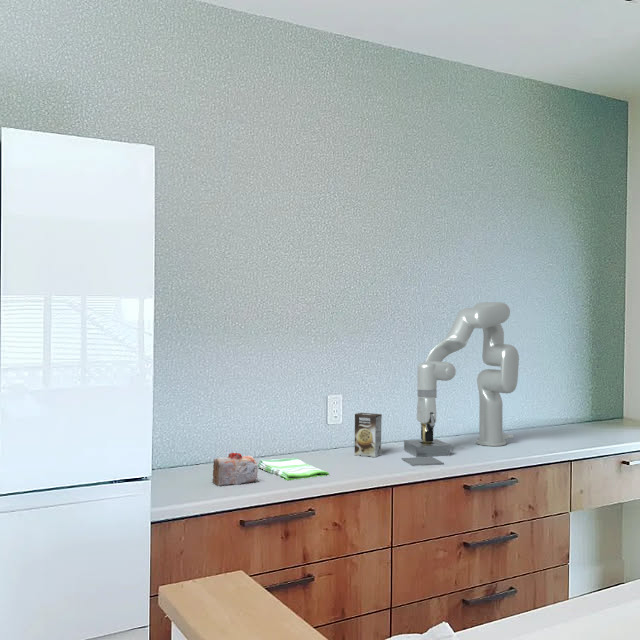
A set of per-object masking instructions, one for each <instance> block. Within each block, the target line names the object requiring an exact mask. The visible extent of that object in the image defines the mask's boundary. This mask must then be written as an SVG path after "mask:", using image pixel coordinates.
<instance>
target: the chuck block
mask: <svg viewBox="0 0 640 640" xmlns="http://www.w3.org/2000/svg"><path fill="white" fill-rule="evenodd" d="M404 450H405V451H404ZM403 451H404V452H406V451H407V452H406V453H408V452H409V453H408V454H410V453H411V454H410V455H412V454H413V455H412V456H413V457H415V456H416V457H422V456H429V457H445V456H446V457H447V456H448V455H450V456H451V444H448V443H447V442H444V441H442V440H440V439H437V438H433V441H432V444H423V440H422V439H408V440H406V439H405V440H403Z"/></svg>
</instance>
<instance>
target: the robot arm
mask: <svg viewBox="0 0 640 640" xmlns="http://www.w3.org/2000/svg"><path fill="white" fill-rule="evenodd" d="M510 316H511V309H510V307H509V306H508V304H507V303H505V302H501V301H500V302H499V301H497V302H496V301H493V302H488V301H487V302H485V301H484V302H479V303H476V304H474V306H473V307H465V308H462V309H460V310H459V312H458V313H457V315H456V317H455V319H454V321H453V323H452V324H451V327H450V329H449V331H448V333H447V335H446V336H445V338H444V339H442V340H440V341H439V342H438V343H437V344H436V345H435V346H434V347H432V349H431V350H430V352H428V355H427V357H426V358H425V361H424V362H420V363H418V365H417V370H416V371H417V374H416V375H417V376H416V377H417V393H416V395H417V401H416V402H417V404H416V420H417V422H419V423H420V440H423V425H421V423H423V424H426V431H425V441H426V442H429V441H433V439H434V430H435V429H434V428H435V426H436V423H437V405H436V404H437V403H436V399H437V395H438V394H437V392H438V391H437V390H438V388H437V386H438V385H437V381H444V382H447V381H451V380H452V379H453V378H455V376H456V372H457V371H456V367H455V365H454V364H452V363H450V362H448V361H443V360H445V358H447V357H448V356H449V355H451V354H453V353H455V352H458V351H460V350H462V349H464V348H465V347H466V346H467V344H468V342H469V339H470V337H472V333H473V332H474V330H475V329H482V333H483V337H482V339H483V340H482V355H481V356H482V362H483V364H485V365H486V366H491V367H500V369H494V368H487V369H486V368H485V369H483V370H481V371H480V372H479V373H478V374H477V377H476V384H477V389H478V396H479V397H478V399H479V402H478V403H479V407H478V408H479V409H478V410H479V413H478V414H479V415H478V416H479V417H478V418H479V423H478V424H479V425H478V427H479V428H478V429H479V433H478V434H479V437H478V438H479V439H478V438H477V439H476V440H475V444H477V445H480V446H489V447H499V446H501V447H502V446H505V445H506V444H507V441H506V440H513V439H514V435H513V434H510V433H509V434H507V433H504V432H503V399H502V397H501V394H511V393H513V392H515V390H516V388H517V386H518V382H519V381H518V379H519V378H518V377H519V365H520V355H519V352H518V349H517V348H516V347H515V346H514V345H513V344H507V343H505V331H504V328H503V326H502V324H504V323H505V322H507V321H508V319H509V318H510ZM428 422H430V423H428ZM428 425H429V426H428Z"/></svg>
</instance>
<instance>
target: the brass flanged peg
mask: <svg viewBox="0 0 640 640" xmlns="http://www.w3.org/2000/svg"><path fill="white" fill-rule="evenodd" d="M428 423H430V422H428ZM421 425H423V444H432V441H429V442H426V441H425V431H426V424H423V423H421V422H420V426H421ZM428 426H429V425H428Z"/></svg>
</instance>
